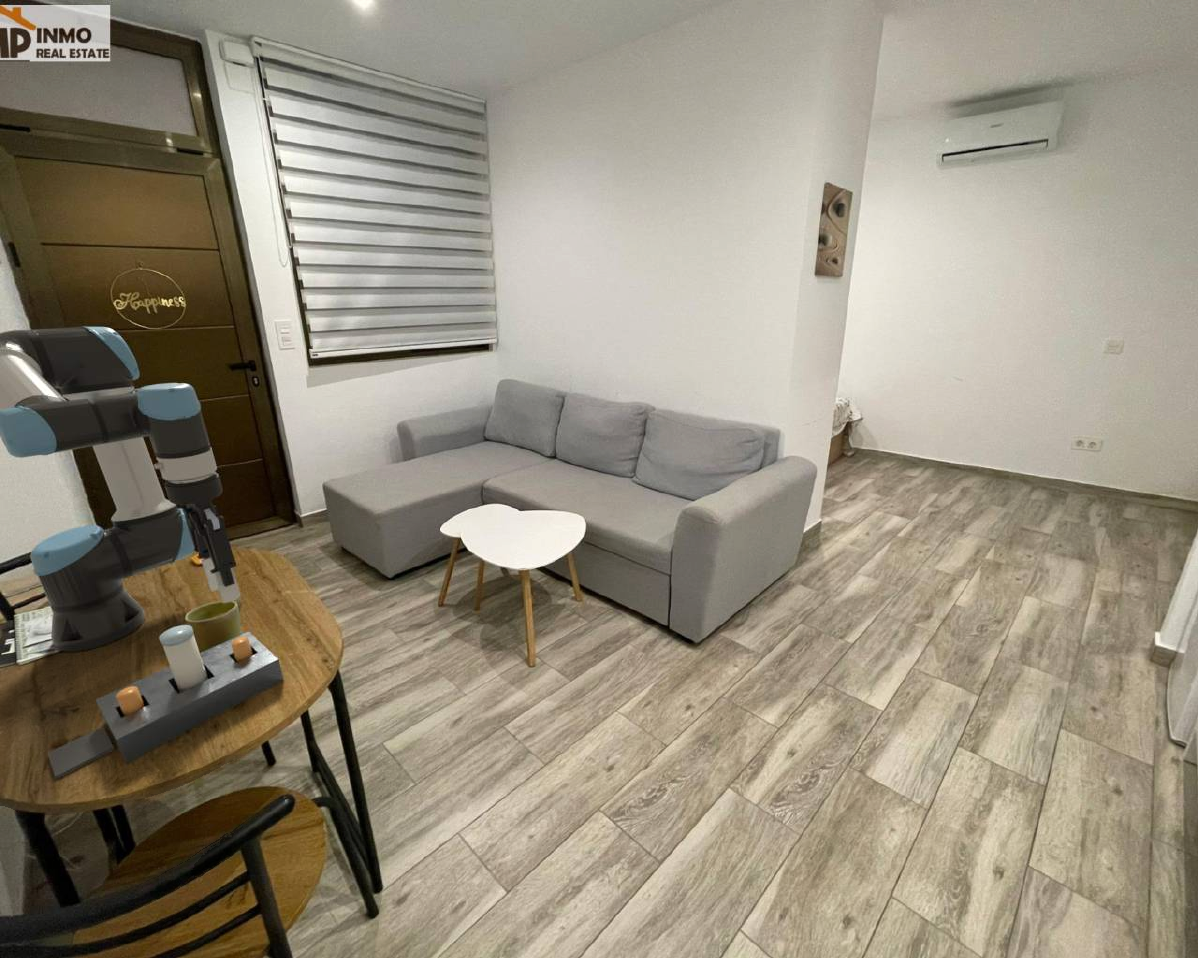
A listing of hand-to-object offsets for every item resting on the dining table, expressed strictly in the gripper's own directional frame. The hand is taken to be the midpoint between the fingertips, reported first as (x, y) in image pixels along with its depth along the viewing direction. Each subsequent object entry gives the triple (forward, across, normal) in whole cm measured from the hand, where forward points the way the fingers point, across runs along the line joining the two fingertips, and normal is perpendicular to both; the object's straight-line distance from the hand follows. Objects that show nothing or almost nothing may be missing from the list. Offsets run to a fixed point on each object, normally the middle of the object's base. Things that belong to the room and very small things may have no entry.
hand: (225, 593), depth 97 cm
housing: (+19, 0, -8) cm, 21 cm away
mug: (+19, -17, +2) cm, 26 cm away
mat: (+19, -2, -24) cm, 31 cm away
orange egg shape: (+17, 0, 0) cm, 17 cm away
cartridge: (+19, 0, -8) cm, 21 cm away
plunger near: (+17, 0, -17) cm, 24 cm away
